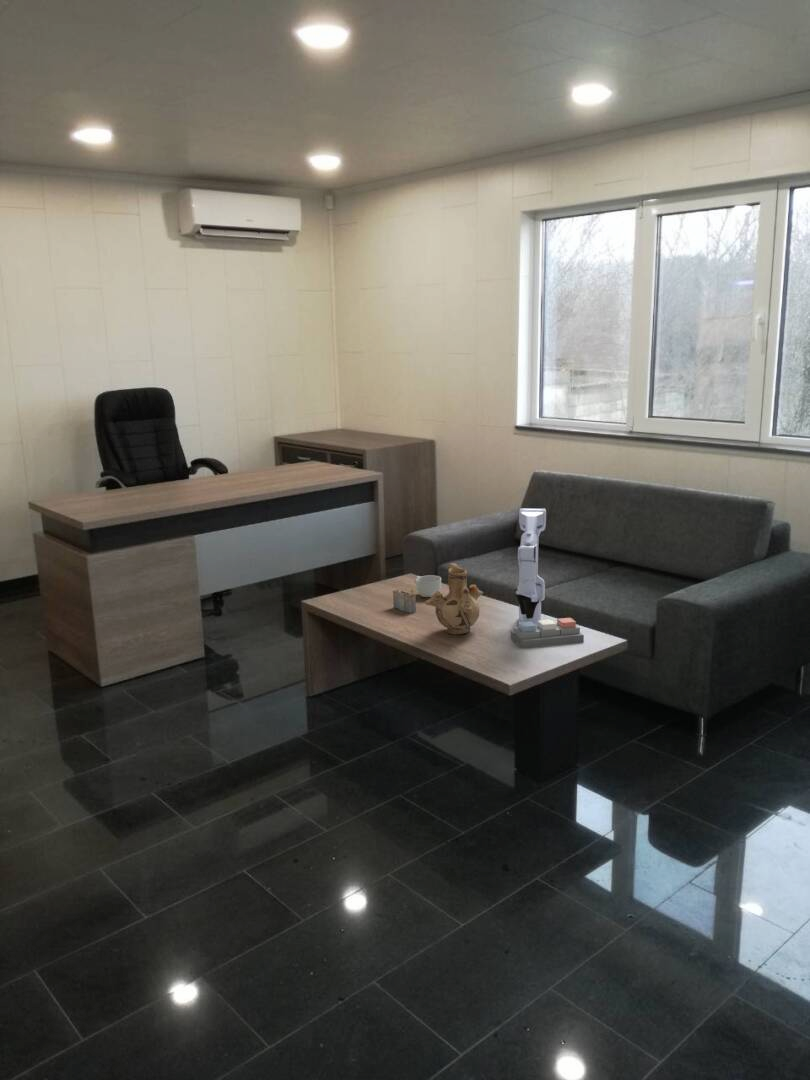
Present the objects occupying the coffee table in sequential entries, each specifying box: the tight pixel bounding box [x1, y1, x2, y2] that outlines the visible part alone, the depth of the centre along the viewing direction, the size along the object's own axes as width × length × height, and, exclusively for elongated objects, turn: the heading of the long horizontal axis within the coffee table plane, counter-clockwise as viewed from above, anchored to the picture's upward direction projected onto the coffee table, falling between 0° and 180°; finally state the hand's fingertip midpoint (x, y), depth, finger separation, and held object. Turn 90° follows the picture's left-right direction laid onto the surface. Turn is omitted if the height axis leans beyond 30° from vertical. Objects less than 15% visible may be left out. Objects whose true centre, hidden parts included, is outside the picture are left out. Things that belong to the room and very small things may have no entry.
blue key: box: [517, 621, 536, 632], centre depth 304 cm, size 5×5×2 cm
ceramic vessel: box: [424, 562, 484, 635], centre depth 316 cm, size 18×19×25 cm
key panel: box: [510, 622, 585, 649], centre depth 306 cm, size 12×23×4 cm, turn 103°
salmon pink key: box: [556, 617, 577, 629], centre depth 307 cm, size 5×5×2 cm
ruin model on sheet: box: [392, 588, 417, 614], centre depth 346 cm, size 11×3×10 cm, turn 39°
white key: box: [538, 619, 557, 631], centre depth 306 cm, size 5×5×2 cm
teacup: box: [414, 574, 442, 598], centre depth 366 cm, size 14×11×8 cm
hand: (527, 616), depth 303 cm, fingers open, 4 cm apart
